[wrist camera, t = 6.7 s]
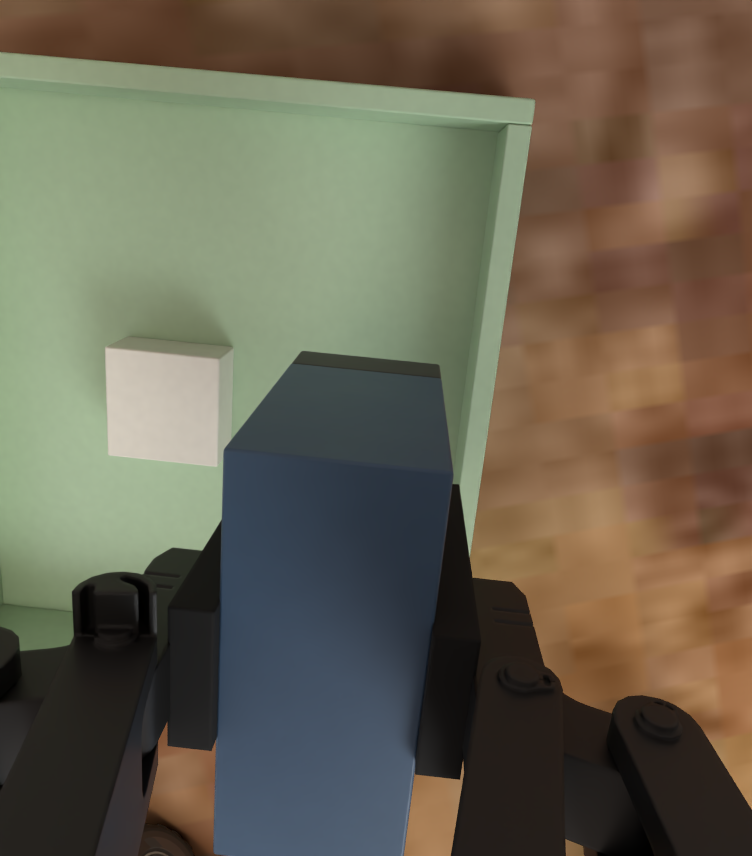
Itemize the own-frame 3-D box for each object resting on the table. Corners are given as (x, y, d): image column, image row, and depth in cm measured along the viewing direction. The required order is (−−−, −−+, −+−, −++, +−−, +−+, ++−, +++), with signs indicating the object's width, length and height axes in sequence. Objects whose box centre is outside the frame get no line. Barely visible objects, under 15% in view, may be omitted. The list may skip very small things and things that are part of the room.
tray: (-51, 62, 24) (-128, 40, 21) (520, 112, 24) (536, 98, 20) (-3, 608, 31) (-56, 659, 28) (444, 659, 30) (446, 717, 27)
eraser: (300, 350, 18) (222, 448, 11) (440, 364, 18) (454, 472, 11) (284, 626, 20) (212, 855, 13) (407, 639, 20) (401, 878, 13)
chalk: (126, 335, 26) (103, 346, 24) (234, 346, 26) (219, 358, 24) (128, 438, 28) (107, 456, 26) (231, 449, 27) (217, 467, 26)
